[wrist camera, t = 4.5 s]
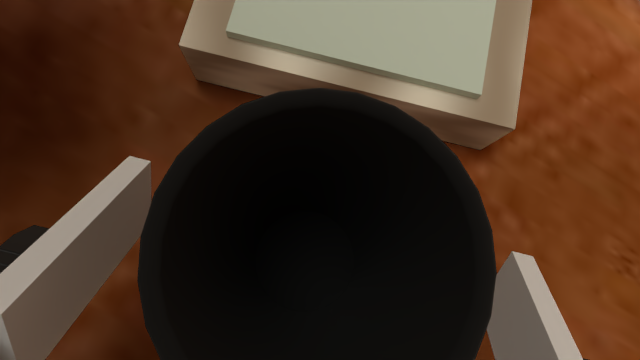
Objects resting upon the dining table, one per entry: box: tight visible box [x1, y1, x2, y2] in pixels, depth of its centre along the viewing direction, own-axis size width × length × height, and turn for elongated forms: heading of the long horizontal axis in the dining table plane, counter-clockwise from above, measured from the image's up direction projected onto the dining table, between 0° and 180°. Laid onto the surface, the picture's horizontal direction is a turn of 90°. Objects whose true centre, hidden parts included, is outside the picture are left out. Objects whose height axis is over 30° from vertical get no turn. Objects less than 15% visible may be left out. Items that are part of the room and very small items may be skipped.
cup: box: [138, 88, 497, 360], centre depth 14 cm, size 8×8×12 cm
